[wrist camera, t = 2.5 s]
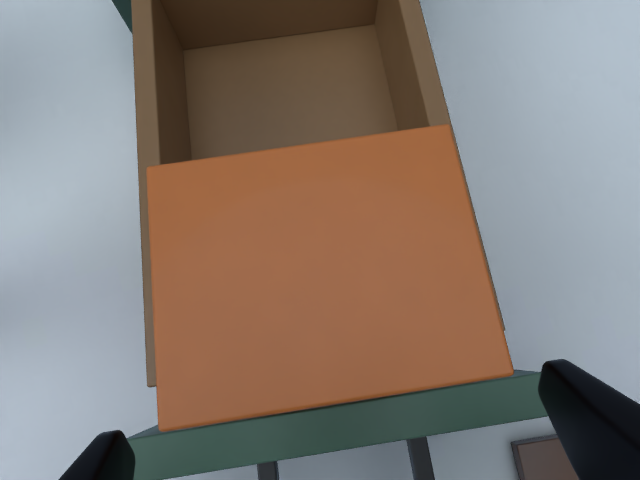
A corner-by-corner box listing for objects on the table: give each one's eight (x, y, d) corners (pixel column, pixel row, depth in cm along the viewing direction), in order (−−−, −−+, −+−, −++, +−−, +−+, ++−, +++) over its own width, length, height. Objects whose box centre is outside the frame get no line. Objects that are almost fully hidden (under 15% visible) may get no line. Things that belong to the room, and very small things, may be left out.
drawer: (514, 512, 16) (604, 587, 11) (191, 567, 16) (126, 672, 11) (397, 24, 22) (419, -76, 17) (160, 56, 22) (108, -37, 16)
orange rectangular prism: (392, 360, 16) (516, 376, 6) (266, 380, 16) (156, 433, 6) (374, 262, 17) (450, 121, 7) (255, 280, 17) (144, 164, 7)
